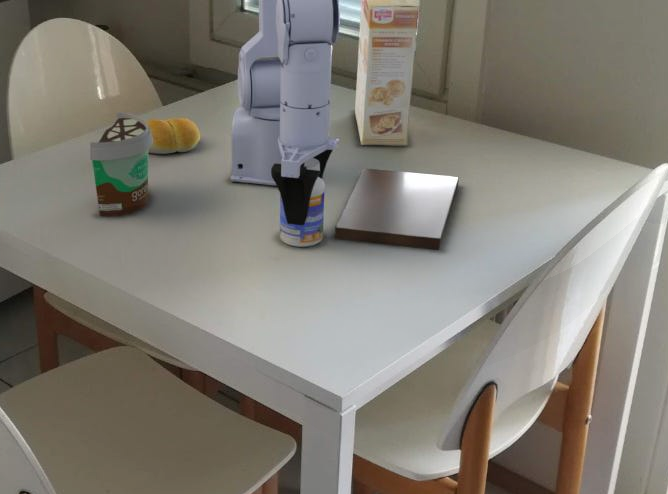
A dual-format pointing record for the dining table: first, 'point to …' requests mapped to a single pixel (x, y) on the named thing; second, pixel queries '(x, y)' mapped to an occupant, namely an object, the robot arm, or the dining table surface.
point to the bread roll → (173, 135)
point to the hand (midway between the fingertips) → (302, 212)
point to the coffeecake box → (385, 70)
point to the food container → (122, 165)
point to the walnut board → (398, 209)
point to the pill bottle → (315, 217)
